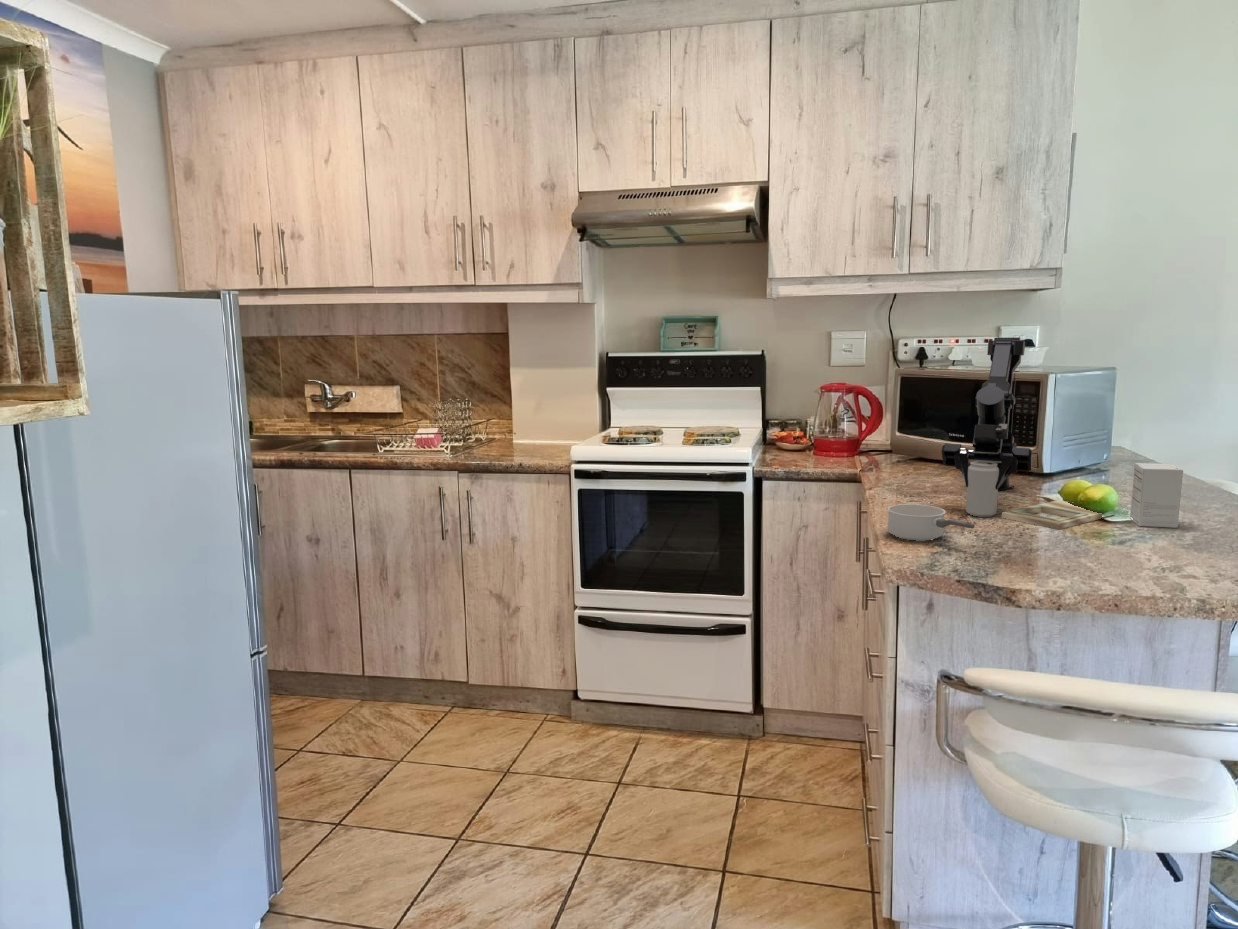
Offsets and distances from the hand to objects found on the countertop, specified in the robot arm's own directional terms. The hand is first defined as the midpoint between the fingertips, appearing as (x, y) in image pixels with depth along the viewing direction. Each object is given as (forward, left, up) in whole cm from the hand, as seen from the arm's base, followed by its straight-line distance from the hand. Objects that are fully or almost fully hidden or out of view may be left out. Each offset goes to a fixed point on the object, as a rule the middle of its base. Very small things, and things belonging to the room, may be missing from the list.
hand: (981, 487), depth 184 cm
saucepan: (+26, +7, -7) cm, 28 cm away
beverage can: (-1, -1, -7) cm, 7 cm away
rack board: (-14, +10, -7) cm, 19 cm away
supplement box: (-23, +25, -7) cm, 35 cm away
